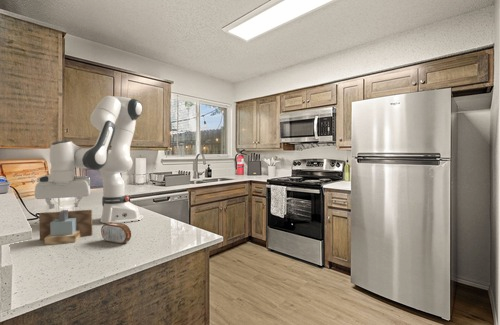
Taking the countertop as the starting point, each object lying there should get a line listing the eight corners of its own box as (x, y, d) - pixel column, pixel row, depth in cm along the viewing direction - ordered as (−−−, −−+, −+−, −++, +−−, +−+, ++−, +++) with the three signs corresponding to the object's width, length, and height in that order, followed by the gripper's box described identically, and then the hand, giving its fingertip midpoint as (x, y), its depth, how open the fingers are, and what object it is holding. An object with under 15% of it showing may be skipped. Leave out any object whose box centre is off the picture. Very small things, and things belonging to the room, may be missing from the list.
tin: (131, 243, 109) (131, 224, 109) (126, 245, 106) (125, 226, 106) (105, 239, 114) (105, 220, 114) (99, 241, 111) (99, 222, 111)
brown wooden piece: (92, 234, 120) (92, 209, 120) (87, 240, 111) (86, 214, 111) (41, 239, 113) (40, 212, 112) (31, 246, 104) (30, 217, 104)
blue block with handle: (76, 230, 116) (76, 209, 116) (72, 234, 111) (72, 212, 110) (55, 232, 113) (55, 210, 113) (50, 236, 108) (50, 213, 107)
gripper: (91, 175, 118) (92, 204, 119) (38, 177, 111) (40, 207, 112) (88, 176, 112) (89, 207, 113) (31, 178, 105) (33, 211, 106)
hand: (64, 207), depth 112 cm, fingers open, 8 cm apart
